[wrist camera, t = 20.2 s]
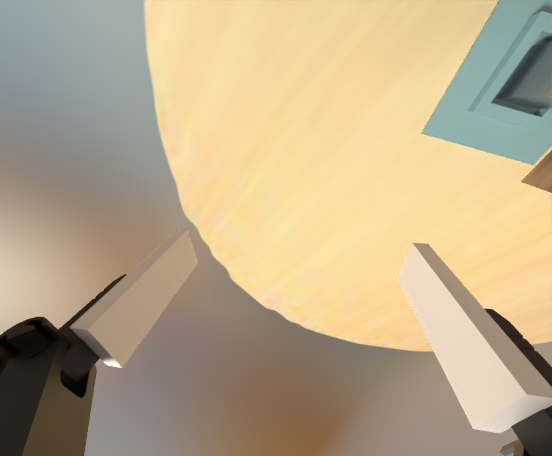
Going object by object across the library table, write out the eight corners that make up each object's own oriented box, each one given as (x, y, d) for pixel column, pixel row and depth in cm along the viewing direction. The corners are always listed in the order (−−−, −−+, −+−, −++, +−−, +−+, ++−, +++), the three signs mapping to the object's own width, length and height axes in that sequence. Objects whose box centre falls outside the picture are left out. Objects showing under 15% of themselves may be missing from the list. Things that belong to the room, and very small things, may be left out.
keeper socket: (421, 133, 34) (426, 134, 33) (526, -46, 23) (542, -57, 22) (530, 164, 34) (541, 167, 33) (686, 0, 23) (714, -8, 22)
